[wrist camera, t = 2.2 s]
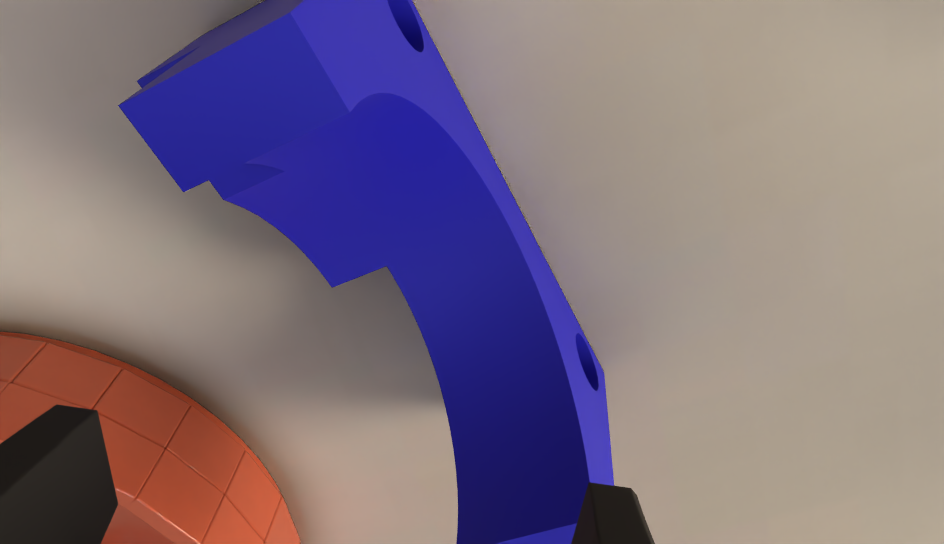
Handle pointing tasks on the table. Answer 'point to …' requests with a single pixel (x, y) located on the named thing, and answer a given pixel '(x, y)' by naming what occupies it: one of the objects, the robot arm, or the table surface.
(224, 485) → the bowl
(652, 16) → the table surface
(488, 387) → the blue bracket
